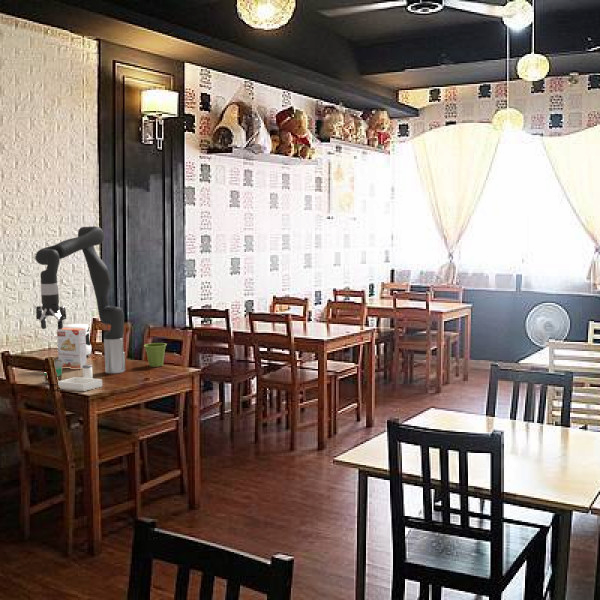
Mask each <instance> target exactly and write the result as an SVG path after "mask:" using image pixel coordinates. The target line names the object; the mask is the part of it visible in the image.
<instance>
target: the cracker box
mask: <svg viewBox="0 0 600 600" xmlns="http://www.w3.org/2000/svg"><path fill="white" fill-rule="evenodd" d="M56 334H57V335H56V340H57V356H58V357H57V359H58V360H62V362H63V366H62V367H71V368H83V365H88V359H87V357H88V356H86V335H85V329H78V328H62V329H58V328H57V329H56Z"/></svg>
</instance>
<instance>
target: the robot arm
mask: <svg viewBox="0 0 600 600" xmlns="http://www.w3.org/2000/svg"><path fill="white" fill-rule="evenodd" d="M104 239H105V233H104V230H103V229H102V228H101V227H99V226H92V225H91V226H82V227H80V228H79V229H78V231H77V236H76V237H73V238H68V239H65V240H62V241H60V242H58V243H56V244H55V245H50V246H47V247H44V248H41V249H39V250H38V251H37V252H36V253H35V261H36V263H38V264H39V265H42V266H46V269H44V270H42V271H41V272H40V297H41V304H42V305H38V306H36V307H35V308H36V309H35V311H36V314H35V315H36V316H35V317H36V318H35V319H36V320H39V321H40V327H41V329H42V330H46V329H47V322H46V319H47V318H48V316H49V317H54V318H56V320H57V329H62V328H63V325H64V324H63V323H64V322H63V321H64V320H67V311H66V306H65V305H63V306H60V305H59V303H60V297H59V295H60V294H59V285H58V270H59V265H60V261H61V260H62V259H64V258H66V257H69V256H71V255H72V254H74V253H76V252H79V251H82V253H83V255H84V259H85V262H86V265H87V268H88V271H89V277H90V280H91V284H92V286H93V290H94V296H95V299H96V305H97V311H98V316H99V320H100V321H101V323H102V324H104V325H108V326H110V329H109V330H108V331H106V332H104V333H103V344H104V345H103V346H104V347H103V348H104V349H103V350H104V366H105V367H104V369H105V373H106V374H121V373H124V372H125V371H126V355H125V351H124V332H125V313H124V311H123V309H122V308H121V307H120V306H111V305H110V301H109V292H110V288H111V285H112V279H111V275H110V271H109V268H108V266H107V265H106V263H105V262H104V260H102V259H101V257H100V256H99V254H97V252H96V248H95V246H99V245H100V244H102V243H103V241H104Z"/></svg>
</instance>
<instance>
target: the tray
mask: <svg viewBox="0 0 600 600" xmlns="http://www.w3.org/2000/svg"><path fill="white" fill-rule="evenodd" d="M58 385H59V387H60V388H61V389H70V390H77V391H76V392H78V391H86V392H88V391H87V390H90V391H92V390H91V389H93V390H96V389H95V388H97V389H100V388H103V379H101V378H83V376H81V377H80V376H74V377H70V378H66V379H62V380H61V381H58ZM99 387H100V388H99Z"/></svg>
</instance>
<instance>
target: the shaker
mask: <svg viewBox="0 0 600 600" xmlns="http://www.w3.org/2000/svg"><path fill="white" fill-rule="evenodd" d="M93 377H94V376H93V365H92V364H87V365H83V369H82V378H93ZM93 379H94V378H93Z"/></svg>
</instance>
